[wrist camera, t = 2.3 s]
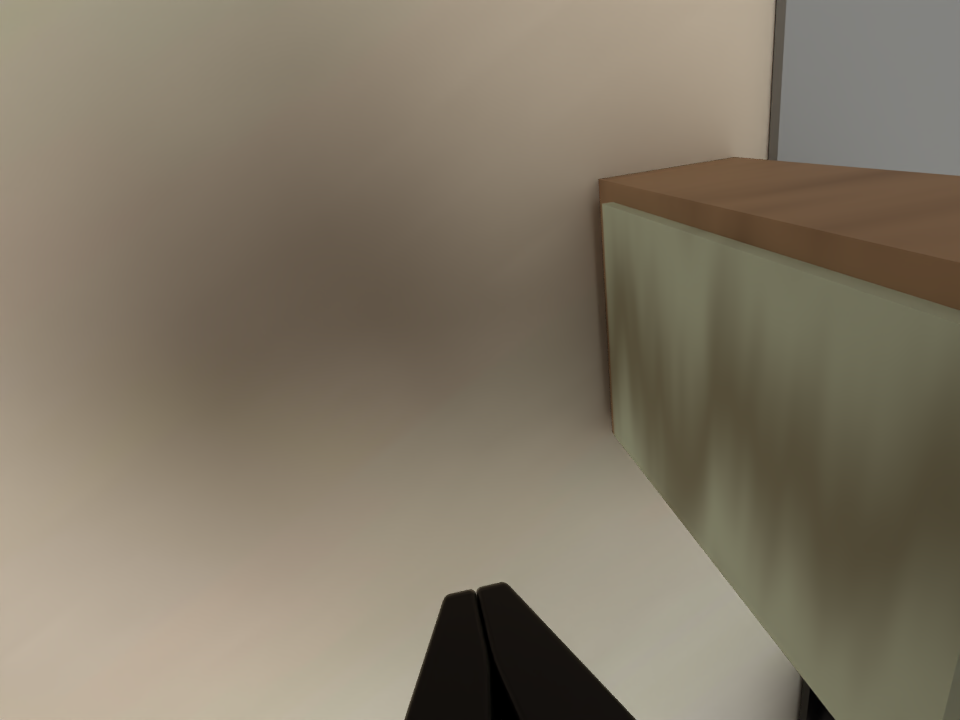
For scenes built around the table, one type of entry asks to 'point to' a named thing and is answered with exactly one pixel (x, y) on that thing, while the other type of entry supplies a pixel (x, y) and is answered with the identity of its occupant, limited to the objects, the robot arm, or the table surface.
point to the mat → (867, 84)
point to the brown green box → (803, 405)
